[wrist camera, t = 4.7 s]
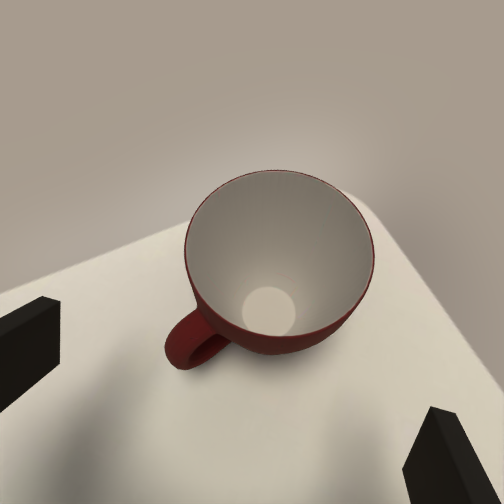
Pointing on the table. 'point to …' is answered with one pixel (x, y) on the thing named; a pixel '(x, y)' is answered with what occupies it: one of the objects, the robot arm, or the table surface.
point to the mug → (271, 267)
